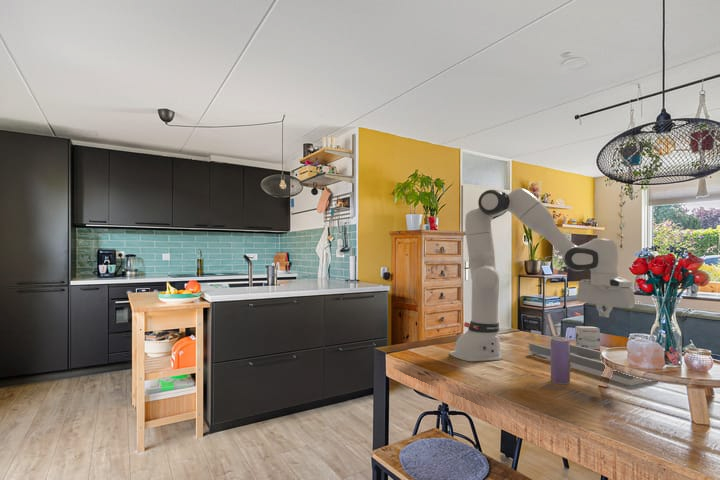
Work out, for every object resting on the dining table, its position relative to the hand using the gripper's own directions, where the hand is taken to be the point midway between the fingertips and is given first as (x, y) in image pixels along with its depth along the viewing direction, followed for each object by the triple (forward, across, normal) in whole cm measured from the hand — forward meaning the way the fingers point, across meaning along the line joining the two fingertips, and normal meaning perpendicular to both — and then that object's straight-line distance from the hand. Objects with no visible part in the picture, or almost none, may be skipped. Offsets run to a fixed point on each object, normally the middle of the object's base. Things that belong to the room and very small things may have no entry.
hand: (604, 316), depth 147 cm
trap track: (+20, -7, 0) cm, 22 cm away
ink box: (+21, -20, +19) cm, 34 cm away
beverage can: (+21, +2, -27) cm, 34 cm away
